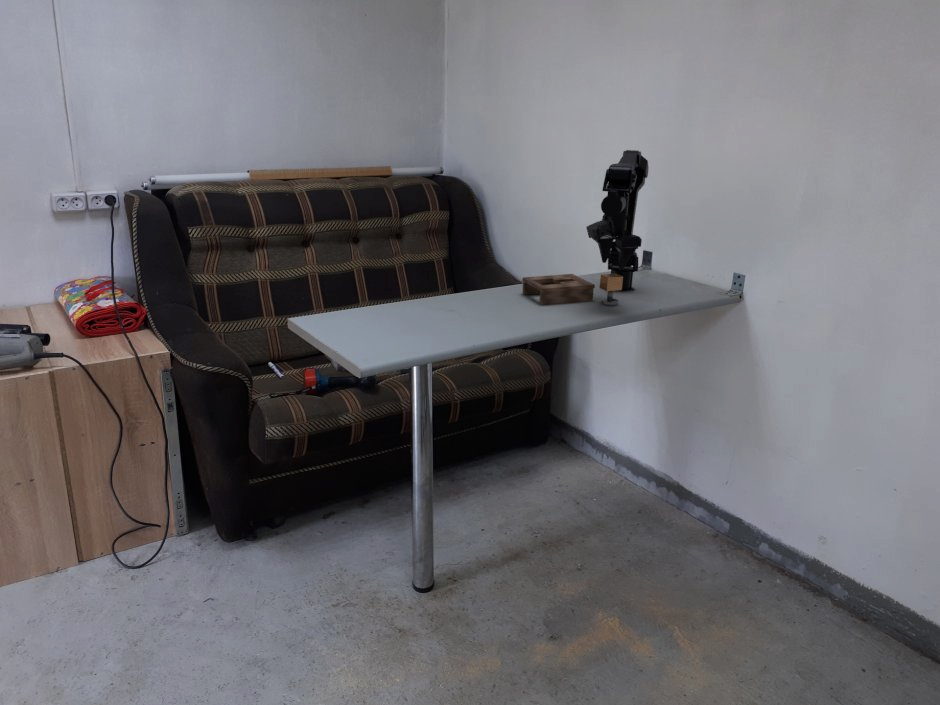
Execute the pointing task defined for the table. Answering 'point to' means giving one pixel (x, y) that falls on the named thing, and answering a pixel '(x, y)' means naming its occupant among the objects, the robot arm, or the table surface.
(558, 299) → the keyhole bracket
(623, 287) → the robot arm
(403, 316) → the table surface
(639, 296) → the table surface
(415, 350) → the table surface
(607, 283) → the hanger peg
